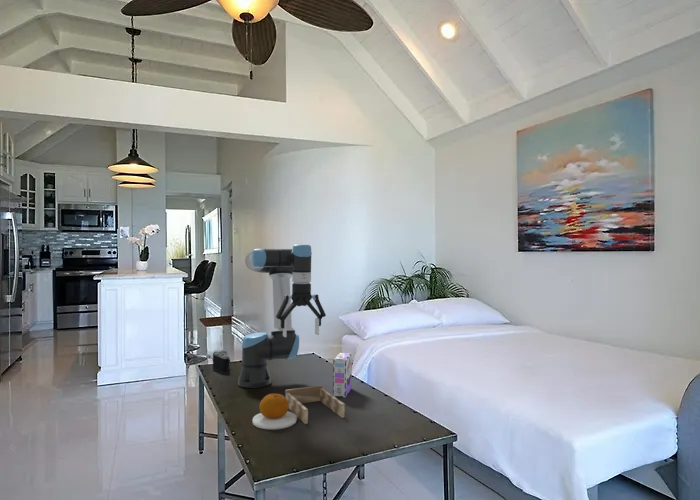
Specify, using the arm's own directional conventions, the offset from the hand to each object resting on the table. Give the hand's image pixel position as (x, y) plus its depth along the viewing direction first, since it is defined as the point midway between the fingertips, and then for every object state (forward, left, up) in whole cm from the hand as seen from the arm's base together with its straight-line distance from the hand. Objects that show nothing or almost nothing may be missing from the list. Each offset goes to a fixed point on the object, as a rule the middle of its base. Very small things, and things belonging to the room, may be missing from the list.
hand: (301, 335), depth 185 cm
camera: (-72, -17, -29) cm, 80 cm away
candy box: (-9, +23, -29) cm, 38 cm away
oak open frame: (+7, +3, -29) cm, 30 cm away
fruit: (+11, -14, -27) cm, 32 cm away
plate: (+12, -14, -29) cm, 34 cm away
